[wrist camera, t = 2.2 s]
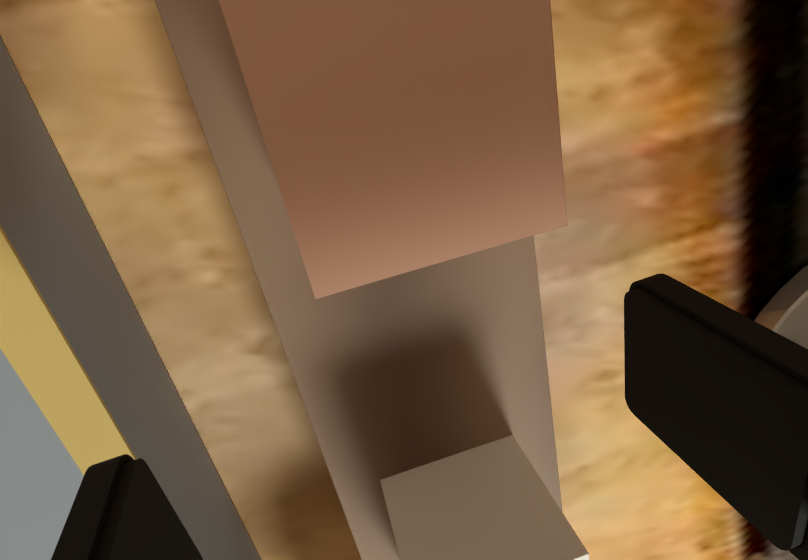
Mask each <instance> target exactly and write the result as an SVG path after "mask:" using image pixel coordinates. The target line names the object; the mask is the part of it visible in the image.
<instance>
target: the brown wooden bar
mask: <svg viewBox="0 0 808 560" xmlns="http://www.w3.org/2000/svg"><path fill="white" fill-rule="evenodd" d="M155 2H156V5H157V7H158V10H159V13H160V15H161V18H162V21H163V23H164V26H165V29H166V32H167V34H168V37H169V40H170V42H171V45H172V48H173V50H174V53H175V56H176V59H177V61H178V64H179V67H180V69H181V72H182V75H183V78H184V80H185V83H186V86H187V88H188V91H189V94H190V96H191V99H192V102H193V105H194V107H195V110H196V113H197V115H198V118H199V121H200V124H201V126H202V129H203V132H204V134H205V137H206V140H207V142H208V145H209V148H210V151H211V153H212V156H213V159H214V161H215V164H216V167H217V170H218V172H219V175H220V178H221V180H222V183H223V186H224V188H225V191H226V194H227V197H228V199H229V202H230V205H231V207H232V210H233V213H234V216H235V218H236V221H237V224H238V226H239V229H240V232H241V234H242V237H243V240H244V243H245V245H246V248H247V251H248V253H249V256H250V259H251V262H252V264H253V267H254V270H255V272H256V275H257V278H258V280H259V283H260V286H261V289H262V291H263V294H264V297H265V299H266V302H267V305H268V308H269V310H270V313H271V316H272V318H273V321H274V324H275V326H276V329H277V332H278V335H279V337H280V340H281V343H282V345H283V348H284V351H285V354H286V356H287V359H288V362H289V364H290V367H291V370H292V372H293V375H294V378H295V381H296V383H297V386H298V389H299V391H300V394H301V397H302V400H303V402H304V405H305V408H306V410H307V413H308V416H309V418H310V421H311V424H312V427H313V429H314V432H315V435H316V437H317V440H318V443H319V446H320V448H321V451H322V454H323V456H324V459H325V462H326V464H327V467H328V470H329V473H330V475H331V478H332V481H333V483H334V486H335V489H336V491H337V494H338V497H339V500H340V502H341V505H342V508H343V510H344V513H345V516H346V519H347V521H348V524H349V527H350V529H351V532H352V535H353V537H354V540H355V543H356V546H357V548H358V551H359V554H360V556H361V559H362V560H400V557H399V553H398V549H397V545H396V541H395V537H394V533H393V529H392V525H391V521H390V517H389V513H388V509H387V505H386V502H385V498H384V494H383V490H382V486H381V482H380V480H381V479H384V478H387V477H390V476H393V475H396V474H399V473H402V472H405V471H408V470H411V469H414V468H417V467H419V466H422V465H425V464H428V463H431V462H434V461H437V460H440V459H443V458H446V457H449V456H452V455H455V454H458V453H461V452H463V451H466V450H469V449H472V448H475V447H478V446H481V445H484V444H487V443H490V442H493V441H496V440H499V439H502V438H504V437H507V436H510V435H513V436H514V438H515V439H516V441H517V442H518V444H519V446H520V447H521V449H522V450H523V452H524V453H525V455H526V457H527V458H528V460H529V461H530V463H531V464H532V466H533V467H534V469H535V471H536V472H537V474H538V475H539V477H540V478H541V480H542V482H543V483H544V485H545V486H546V488H547V489H548V491H549V493H550V494H551V496H552V497H553V499H554V500H555V502H556V503H557V505H558V507H559V508H560V510H561V511H562V503H561V493H560V484H559V474H558V465H557V455H556V446H555V436H554V427H553V417H552V408H551V398H550V388H549V379H548V369H547V360H546V350H545V341H544V331H543V322H542V312H541V303H540V293H539V283H538V274H537V264H536V255H535V245H534V236H529V237H526V238H522V239H519V240H515V241H512V242H509V243H505V244H502V245H498V246H495V247H492V248H488V249H485V250H481V251H478V252H475V253H471V254H468V255H464V256H461V257H458V258H454V259H451V260H447V261H444V262H440V263H437V264H434V265H430V266H427V267H423V268H420V269H417V270H413V271H410V272H406V273H403V274H400V275H396V276H393V277H389V278H386V279H383V280H379V281H376V282H372V283H369V284H365V285H362V286H359V287H355V288H352V289H348V290H345V291H342V292H338V293H335V294H331V295H328V296H325V297H321V298H318V299H315V296H314V293H313V290H312V287H311V284H310V281H309V278H308V275H307V272H306V269H305V265H304V262H303V259H302V256H301V253H300V250H299V247H298V244H297V241H296V238H295V235H294V231H293V228H292V225H291V222H290V219H289V216H288V213H287V210H286V207H285V204H284V200H283V197H282V194H281V191H280V188H279V185H278V182H277V179H276V176H275V173H274V170H273V166H272V163H271V160H270V157H269V154H268V151H267V148H266V145H265V142H264V139H263V135H262V132H261V129H260V126H259V123H258V120H257V117H256V114H255V111H254V108H253V105H252V101H251V98H250V95H249V92H248V89H247V86H246V83H245V80H244V77H243V74H242V70H241V67H240V64H239V61H238V58H237V55H236V52H235V49H234V46H233V43H232V40H231V36H230V33H229V30H228V27H227V24H226V21H225V18H224V15H223V12H222V9H221V5H220V2H219V0H155Z"/></svg>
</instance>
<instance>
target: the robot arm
mask: <svg viewBox="0 0 808 560" xmlns="http://www.w3.org/2000/svg"><path fill="white" fill-rule="evenodd" d="M624 339H625V399H626V403H627V405H628V407H629V409H630V410H631V412H632V413H633V414H634V415H635V416H636V417H637V418H638V419H639V420H640V421H641V422H642V423H643V424H645V425H646V426H647V427H648V428H649V429H650V430H651V431H652V432H653V433H654V434H655V435H656V436H657V437H658V438H660V439H661V440H662V441H663V442H664V443H665V444H666V445H667V446H668V447H669V448H670V449H671V450H672V451H673V452H675V453H676V454H677V455H678V456H679V457H680V458H681V459H682V460H683V461H684V462H685V463H686V464H687V465H688V466H690V467H691V468H692V469H693V470H694V471H695V472H696V473H697V474H698V475H699V476H700V477H701V478H702V479H703V480H705V481H706V482H707V483H708V484H709V485H710V486H711V487H712V488H713V489H714V490H715V491H716V492H717V493H718V494H719V495H721V496H722V497H723V498H724V499H725V500H726V501H727V502H728V503H729V504H730V505H731V506H732V507H733V508H734V509H736V510H737V511H738V512H739V513H740V514H741V515H742V516H743V517H744V518H745V519H746V520H747V521H748V522H749V523H751V524H752V525H753V526H754V527H755V528H756V529H757V530H758V531H759V532H760V533H761V534H762V535H763V536H764V537H766V538H767V539H768V540H769V541H770V542H771V543H772V544H773V545H775V546H776V547H778V548H779V549H781V550H786V551H787V550H789V551H790V552H791V553H792V554H793V555H794V556H795V557H797V558H798V559H799V560H808V265H807V266H806V267H804V268H803V269H802V270H800V271H799V272H798V273H797V274H796V275H795V276H794V277H793V278H792V279H791V280H789V281H788V282H787V283H786V284H785V285H784V286H783V287H782V288H781V289H779V291H778V292H777V293H776V294H775V295H774V296H773V298H772V299H771V300H770V301H769V302H768V303H767V304H766V306H765V307H764V308H763V309H762V310H761V311H760V313H759V314H758V315H757V317H756V318H755V320H754V321H753V320H751V319H749V318H747V317H746V316H744V315H742V314H740V313H738V312H736V311H734V310H732V309H730V308H728V307H727V306H725V305H723V304H721V303H719V302H717V301H715V300H713V299H711V298H709V297H708V296H706V295H704V294H702V293H700V292H698V291H696V290H694V289H692V288H690V287H689V286H687V285H685V284H683V283H681V282H679V281H677V280H675V279H673V278H671V277H669V276H668V275H665V274H656V275H653V276H650V277H647V278H645V279H642V280H639V281H636V282H634V283H632V284H631V286H630V289H629V292H627V293H626V294H625V297H624ZM51 560H203V558H202V556H201V554H200V552H199V551H198V549H197V547H196V546H195V544H194V542H193V541H192V539H191V537H190V535H189V534H188V532H187V530H186V529H185V527H184V525H183V524H182V522H181V520H180V519H179V517H178V515H177V514H176V512H175V510H174V508H173V507H172V505H171V503H170V502H169V500H168V498H167V497H166V495H165V493H164V492H163V490H162V488H161V487H160V485H159V483H158V481H157V480H156V478H155V476H154V475H153V473H152V471H151V470H150V468H149V466H148V465H147V463H146V462H145V460H143V459H142V458H139V459H136V460H134V459H133V458H132V457H131V456H130V455H128V454H124V455H121V456H118V457H115V458H112V459H109V460H106V461H103V462H100V463H97V464H94V465H91V466H90V467H88V469H87V470H86V472H85V474H84V477H83V479H82V482H81V485H80V487H79V490H78V492H77V495H76V497H75V500H74V502H73V505H72V507H71V510H70V512H69V515H68V518H67V520H66V523H65V525H64V528H63V530H62V533H61V535H60V538H59V540H58V543H57V545H56V548H55V551H54V553H53V556H52V558H51Z"/></svg>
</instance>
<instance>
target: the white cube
mask: <svg viewBox="0 0 808 560" xmlns="http://www.w3.org/2000/svg"><path fill="white" fill-rule="evenodd" d="M380 482H381V486H382V490H383V494H384V498H385V502H386V505H387V509H388V513H389V517H390V521H391V525H392V529H393V533H394V537H395V541H396V545H397V549H398V553H399V557H400V560H589V553H588V552H587V550H586V549H585V547H584V546H583V544H582V543H581V541H580V539H579V538H578V536H577V535H576V533H575V532H574V530H573V528H572V527H571V525H570V524H569V522H568V521H567V519H566V518H565V516H564V514H563V513H562V511H561V510H560V508H559V507H558V505H557V503H556V502H555V500H554V499H553V497H552V496H551V494H550V493H549V491H548V489H547V488H546V486H545V485H544V483H543V482H542V480H541V478H540V477H539V475H538V474H537V472H536V471H535V469H534V467H533V466H532V464H531V463H530V461H529V460H528V458H527V457H526V455H525V453H524V452H523V450H522V449H521V447H520V446H519V444H518V442H517V441H516V439H515V438H514V436H513V435H510V436H507V437H504V438H502V439H499V440H496V441H493V442H490V443H487V444H484V445H481V446H478V447H475V448H472V449H469V450H466V451H463V452H461V453H458V454H455V455H452V456H449V457H446V458H443V459H440V460H437V461H434V462H431V463H428V464H425V465H422V466H419V467H417V468H414V469H411V470H408V471H405V472H402V473H399V474H396V475H393V476H390V477H387V478H384V479H381V480H380Z"/></svg>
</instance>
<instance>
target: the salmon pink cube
mask: <svg viewBox="0 0 808 560" xmlns="http://www.w3.org/2000/svg"><path fill="white" fill-rule="evenodd" d="M219 2H220V5H221V9H222V12H223V15H224V18H225V21H226V24H227V27H228V30H229V33H230V36H231V40H232V43H233V46H234V49H235V52H236V55H237V58H238V61H239V64H240V67H241V70H242V74H243V77H244V80H245V83H246V86H247V89H248V92H249V95H250V98H251V101H252V105H253V108H254V111H255V114H256V117H257V120H258V123H259V126H260V129H261V132H262V135H263V139H264V142H265V145H266V148H267V151H268V154H269V157H270V160H271V163H272V166H273V170H274V173H275V176H276V179H277V182H278V185H279V188H280V191H281V194H282V197H283V200H284V204H285V207H286V210H287V213H288V216H289V219H290V222H291V225H292V228H293V231H294V235H295V238H296V241H297V244H298V247H299V250H300V253H301V256H302V259H303V262H304V265H305V269H306V272H307V275H308V278H309V281H310V284H311V287H312V290H313V293H314V296H315V299H318V298H321V297H325V296H328V295H331V294H335V293H338V292H342V291H345V290H348V289H352V288H355V287H359V286H362V285H365V284H369V283H372V282H376V281H379V280H383V279H386V278H389V277H393V276H396V275H400V274H403V273H406V272H410V271H413V270H417V269H420V268H423V267H427V266H430V265H434V264H437V263H440V262H444V261H447V260H451V259H454V258H458V257H461V256H464V255H468V254H471V253H475V252H478V251H481V250H485V249H488V248H492V247H495V246H498V245H502V244H505V243H509V242H512V241H515V240H519V239H522V238H526V237H529V236H533V235H536V234H539V233H543V232H546V231H550V230H553V229H556V228H560V227H563V226H567V216H566V203H565V190H564V177H563V163H562V150H561V137H560V124H559V110H558V97H557V84H556V71H555V57H554V44H553V31H552V18H551V4H550V0H219Z"/></svg>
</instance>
